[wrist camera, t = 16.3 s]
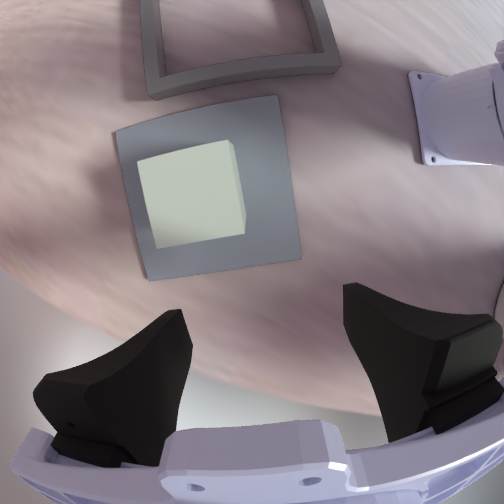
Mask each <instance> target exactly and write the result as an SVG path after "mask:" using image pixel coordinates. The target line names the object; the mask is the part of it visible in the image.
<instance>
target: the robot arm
mask: <svg viewBox="0 0 504 504" xmlns="http://www.w3.org/2000/svg"><path fill="white" fill-rule="evenodd" d="M495 56H496V58H497V60H498V62H499V63H495V64H491V65H487V66H483V67H479V68H476V69H472V70H469V71H465V72H462V73H458V74H455V75H452V76H449V77H447V76H442V75H437V74H432V73H426V72H419V71H410V72H409V73H408V77H409V81H410V86H411V90H412V95H413V100H414V105H415V111H416V116H417V123H418V129H419V136H420V144H421V153H422V161H423V163H424V164H425V165H427V166H441V165H498V166H504V40H502V41H500V42H498V43H497V47H496V51H495ZM417 75H418V76H419V77H420V79H419V78H418V77H417ZM432 157H433V162H432V161H431V158H432ZM343 324H344V327H345V330H346V332H347V335H348V338H349V341H350V343H351V345H352V347H353V348H354V350H355V352H356V354H357V356H358V358H359V360H360V362H361V364H362V365H363V367H364V369H365V371H366V373H367V375H368V377H369V379H370V382H371V384H372V387H373V390H374V392H375V395H376V398H377V401H378V404H379V408H380V411H381V414H382V418H383V421H384V425H385V429H386V433H387V437H388V442H389V443H388V444H385V445H382V446H378V447H371V448H362V449H353V450H345V447H344V444H343V440H342V436H341V434H340V432H339V430H338V427H337V426H336V425H333V424H330V423H327V422H324V421H321V420H294V421H289V422H280V423H273V424H264V425H253V426H241V427H223V428H193V429H187V430H181V431H176V424H177V416H178V409H179V404H180V400H181V396H182V393H183V389H184V386H185V382H186V378H187V375H188V371H189V368H190V364H191V358H192V349H193V344H192V341H191V338H190V335H189V332H188V329H187V326H186V323H185V320H184V317H183V314H182V310H181V309H176V310H168V311H167V312H165V313H163V314H162V315H161V316H159V317H158V318H157V319H156V320H154V321H153V322H152V323H150V324H149V325H148V326H147V327H145V328H144V329H143V330H142V331H140V332H139V333H138V334H136V335H135V336H133V337H132V338H131V339H129V340H128V341H126V342H125V343H123V344H122V345H120V346H119V347H117V348H115V349H114V350H112V351H110V352H108V353H107V354H105V355H102V356H100V357H98V358H96V359H94V360H92V361H89V362H88V363H84V364H82V365H79V366H76V367H73V368H70V369H67V370H63V371H58V372H54V373H49V374H46V375H45V376H44V377H43V379H42V380H41V381H40V382H39V384H38V385H37V386H36V388H35V389H34V391H33V398H34V401H35V403H36V405H37V407H38V408H39V410H40V411H41V413H42V414H43V415H44V417H45V418H46V419H47V420H48V421H49V423H50V424H51V425H52V426H53V427H54V429H55V430H56V431H57V434H56V436H55V437H53V436H52V435H50V434H49V433H46V432H44V431H41V430H38V429H35V428H31V429H30V431H29V432H28V434H27V436H26V437H25V439H24V441H23V442H22V444H21V446H20V447H19V449H18V451H17V453H16V454H15V456H14V458H13V460H12V462H11V463H10V465H9V468H10V469H11V470H12V471H13V472H14V473H15V474H16V475H18V476H19V477H20V478H21V479H22V480H23V481H25V482H26V483H27V484H28V485H30V486H31V487H32V488H33V489H35V490H36V491H37V492H39V493H40V494H41V495H43V496H44V497H45V498H47V499H48V500H50V501H52V502H54V503H56V504H438V503H440V502H442V501H444V500H446V499H447V498H449V497H451V496H452V495H454V494H455V493H457V492H459V491H461V490H462V489H464V488H465V487H467V486H468V485H470V484H471V483H473V482H474V481H476V480H477V479H479V478H480V477H481V476H483V475H484V474H486V473H487V472H488V471H490V470H491V469H492V468H494V467H495V466H496V465H498V464H499V463H500V462H502V461H503V460H504V377H503V378H502V379H501V380H500V382H498V381H497V379H496V378H495V376H496V375H497V371H496V370H495V368H494V367H493V364H494V362H495V360H496V357H497V354H498V352H499V349H500V347H501V343H502V339H503V329H502V326H501V325H500V324H499V323H498V322H497V321H496V320H495V319H494V318H493V317H491V316H490V315H489V314H472V315H464V314H450V313H442V312H436V311H430V310H426V309H422V308H418V307H415V306H411V305H408V304H405V303H402V302H400V301H397V300H395V299H392V298H390V297H387V296H385V295H383V294H381V293H379V292H377V291H374V290H372V289H370V288H368V287H366V286H364V285H361V284H359V283H351V284H345V285H343Z"/></svg>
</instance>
